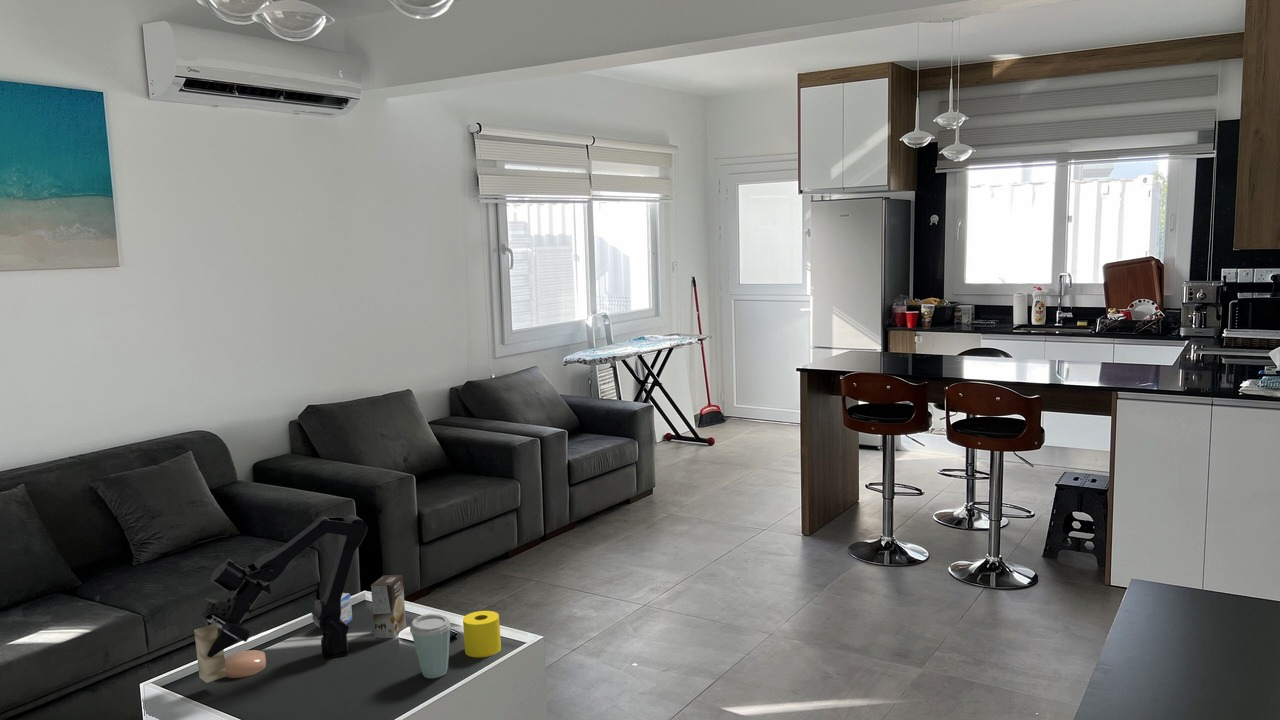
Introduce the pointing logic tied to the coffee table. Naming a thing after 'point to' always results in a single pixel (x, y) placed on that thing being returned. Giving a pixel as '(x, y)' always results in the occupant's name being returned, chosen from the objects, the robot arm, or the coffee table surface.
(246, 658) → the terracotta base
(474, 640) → the yellow toilet paper roll
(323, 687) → the coffee table surface
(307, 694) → the coffee table surface
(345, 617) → the medicine box
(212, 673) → the birch block
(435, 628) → the disposable coffee cup
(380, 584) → the coffee box
